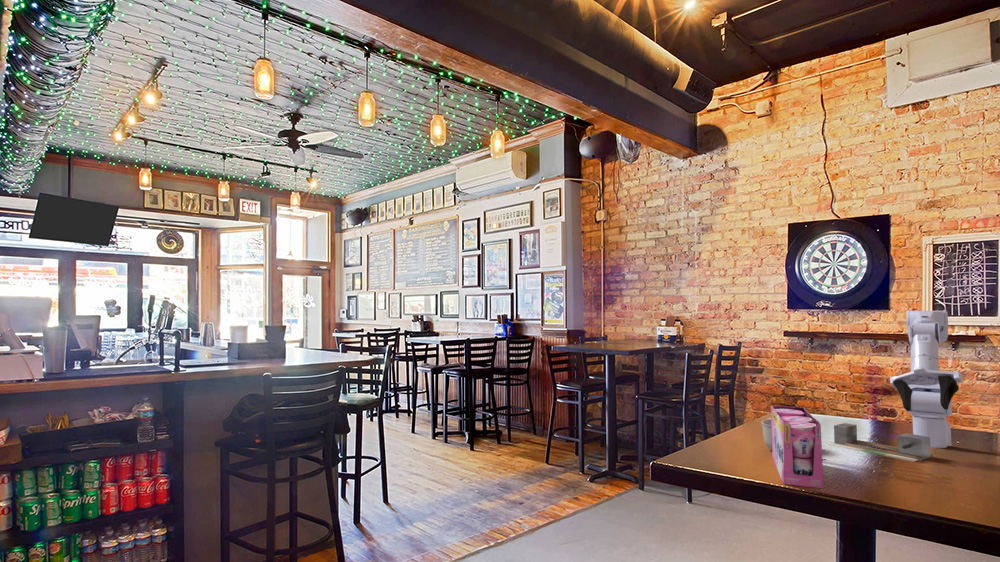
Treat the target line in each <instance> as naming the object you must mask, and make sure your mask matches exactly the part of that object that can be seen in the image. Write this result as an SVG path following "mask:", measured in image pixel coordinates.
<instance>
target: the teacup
mask: <svg viewBox="0 0 1000 562" xmlns="http://www.w3.org/2000/svg"><path fill="white" fill-rule="evenodd" d="M761 425H762V435H763V441H764V444H765V445H766V446H767V447H768V448H769V449H770V450H771V451H772V452H773V449H772V422H771V417H769V418H767V419H764V420H762V421H761Z"/></svg>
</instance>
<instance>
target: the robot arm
mask: <svg viewBox="0 0 1000 562" xmlns="http://www.w3.org/2000/svg"><path fill="white" fill-rule="evenodd" d="M905 312H906V314H905V317H906V319H905V320H906V321H905V322H906V329H907V330H906V331H907V337H908V341H909V345H910V372H906V373H903V374H900V375H897V376H890V377H889V378H890V379H889V381H890V382H889V383H890V385H891V387H892V388H895V389H896V390H897V392H898V394H899V396H900V399H901V402H902V407H903V409H904V410H905V411H906V412H907V413H909V414H911V416H912V417H911V418H912V432H913V433H912V434H915V435H921V436H927V437H930V448H934V449H946V448H948V446H949V447H952V429H951V428H952V427H951V423H950V422H949V420H948V419H947V417H951V416H952V415H953V411H952V409H953V408H952V405H953V404H952V399H953V397H954V395H955V394H956V393H957V392H958V391H959V390H960V389H959V388H960V387H959V385H958V383H963V375H962V374H961V373H960V371H949V370H946V371H945V370H940V361H939V360H940V355H939V354H940V352H939V347H940V344H942V343H945V342H947V341H948V337H949V313H948V311H947V310H946V309H943V310H911V309H910V310H909V309H908V310H907V311H905Z"/></svg>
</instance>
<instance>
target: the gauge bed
mask: <svg viewBox="0 0 1000 562" xmlns="http://www.w3.org/2000/svg"><path fill="white" fill-rule="evenodd" d="M857 429H858V428H857V424H852V423H846V422H843V423H840V424H839V423H838V424H835V425H833V435H834V437H833V438H834V441H833V442H828V443H826V444H827V445H828V446H832V447H836V448H837V447H838V448H843V449H848V450H853V451H857V452H862V453H867V454H871V455H877V456H881V457H887V458H893V459H896V460H902V461H906V462H907V461H908V462H913V463H915V462H922V461H923V460H922V458H921V457H916V456H911V455H905V454H900V453H898V446H892V445H887V444H881V443H875V442H871V441H866V440H858V430H857ZM858 444H860V445H858ZM863 445H866V446H863ZM869 446H871V447H869ZM873 447H874V448H873ZM875 447H876V448H875ZM880 448H882V449H880ZM883 449H886V450H883ZM889 450H890V451H889ZM895 451H897V452H895ZM930 458H933V453H931V457H930Z"/></svg>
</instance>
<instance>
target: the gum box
mask: <svg viewBox="0 0 1000 562" xmlns="http://www.w3.org/2000/svg"><path fill="white" fill-rule="evenodd" d="M770 416H771V417H770V418H771V422H772V449H773V451H772V460H773V462H774V465H775V467H776V470H777V473H778V474H779V477H780V480H781V481H782V484H783V485H788V486H797V487H806V488H816V489H824V466H823V463H824V462H823V447H822V444H823V443H822V428H821V426H822V424H821V423H820V421H819V420H817V419H816V418H815V417H814V416H813V415H812V414H811V413H809V411H808V410H807V409H806V408H805V407H800V406H782V405H781V406H780V405H771V406H770Z"/></svg>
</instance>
